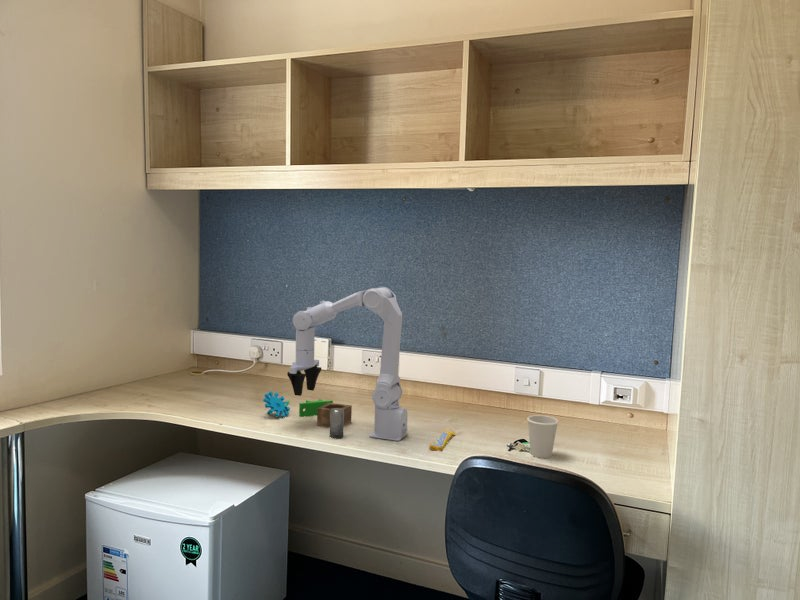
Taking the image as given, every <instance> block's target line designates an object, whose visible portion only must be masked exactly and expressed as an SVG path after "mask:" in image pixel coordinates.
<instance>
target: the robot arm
mask: <svg viewBox="0 0 800 600" xmlns="http://www.w3.org/2000/svg"><path fill="white" fill-rule="evenodd" d="M357 306H359V307H365V308H366V309H367V310H369V311H371V312H372V313H375V314H377V316H379V317H380V318H381V320H382V321H383V333H382V344H381V355H380V356H381V357H380V368H379V370H380V371H379V376H378V377H377V380H376V384H375V389H374V390H373V391H372V395H371V397H372V399H371V400H372V401H373V403H374V425H373V426H374V427H373V428H374V429H373V432H371V433H370V434H369V438H376V439H380V440H381V439H383V440H388V441H389V440H390V441H396V442H398V441H399V442H400V441H401V440H402V439H404V437H406V435H408V434H409V433H408V409H407V408H405V407H401V406H400V403H399V399H401V397H402V395H403V388H402V386H401V377H400V376H399V374H398V373H399V363H400V351H401V348H400V347H401V339H402V326H403V313H402V310H401V308H400V306H399V304H398V301H397V295H396V294H395V293H394V292H393V290H391V289H390V288H388V287H386V286H380V287H376V288H373V287H372V288H369V289H366V290H361V291H357V292H354V293H352V294H350V295H348V296H345V297H344V298H341V299H338V301H335V302H331V301H329V300H327V301H325V300H321V301H319V304H316V305H315V306H308V307H307V308H306V310H298V312H296V313H295V314H294V315H293V317H292V324H293V326H294V328H295V361H294V362H292V365H291V366H289V371H288V372H287V377H288V379H289V380H290V383H291V385H292V390H293V394H294V396H302V395H303V387H304V383H306V389H307V391H311V392H312V391H315V388H316V386H317V385H316V384H317V380H318V378H319V376H320V374H321V371H322V367H321V366H320V359H315V339H316V338H315V336H316V335H315V333H316V327H317V326H319V325H321V324H324V323H327V322H330V321H331V320H335V319H336V316H337V314H338V313H340V312H343V311H346V310H348V309H352V308H354V307H357ZM319 366H320V367H319ZM303 371H304V373H302V372H303ZM304 381H306V382H304Z"/></svg>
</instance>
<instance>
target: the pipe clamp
mask: <svg viewBox="0 0 800 600" xmlns="http://www.w3.org/2000/svg"><path fill="white" fill-rule="evenodd" d="M327 403H334V401H333V400H332V399H331V400H330V399H329V400H322V399H321V398H318V400H309V399H307V400H305V402H299V403H298V404H299V406H298V408H299V409H298V410H299V411H298V415H299V417H300V418H302V417H304V416H305V417H313V416H314V415H315V416H317V408H319V407H321V406H323V405H325V404H327Z"/></svg>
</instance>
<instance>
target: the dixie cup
mask: <svg viewBox="0 0 800 600" xmlns="http://www.w3.org/2000/svg"><path fill="white" fill-rule="evenodd" d="M526 420H527V423H528V426H527V427H528V435H529V452H530V455H531V456H532V455H533V456H532V457H534V456H536V457H535V458H537V457H539V459H550V458H551V457H552V456H553V452H554V451H553V450H554V444H555V439H556V434H557V433H556V432H557V428H558V424H559V420H558V419H557V418H556V417H554V416H549V415H543V414H542V415H541V414H535V415H530V416H528V417H527V419H526Z"/></svg>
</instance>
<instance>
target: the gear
mask: <svg viewBox="0 0 800 600" xmlns="http://www.w3.org/2000/svg"><path fill="white" fill-rule="evenodd" d="M273 394H274V395H273ZM279 395H280V394H279V393H278V392H275V393H274V392H273V391H269V392H268V393H265V394H264V398H263V400H262V401H263V402H264V407H265V408H266V409H268V408H269V410H268V411H267V412H266V414H267V415H268V414H269V415H271V414H272V413H274V412H275V413H274V416H275V418H278V417H280V418H283V417H284V418H285V417H287V416H288V415H289V414H290V412H289V411H291V407H290V406H289V404H290V403H291V400H289V399H288V400H287V401H285V399H286V398H285V397H284V396H283V395H281V396H280V397H279ZM284 418H283V419H284Z"/></svg>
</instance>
